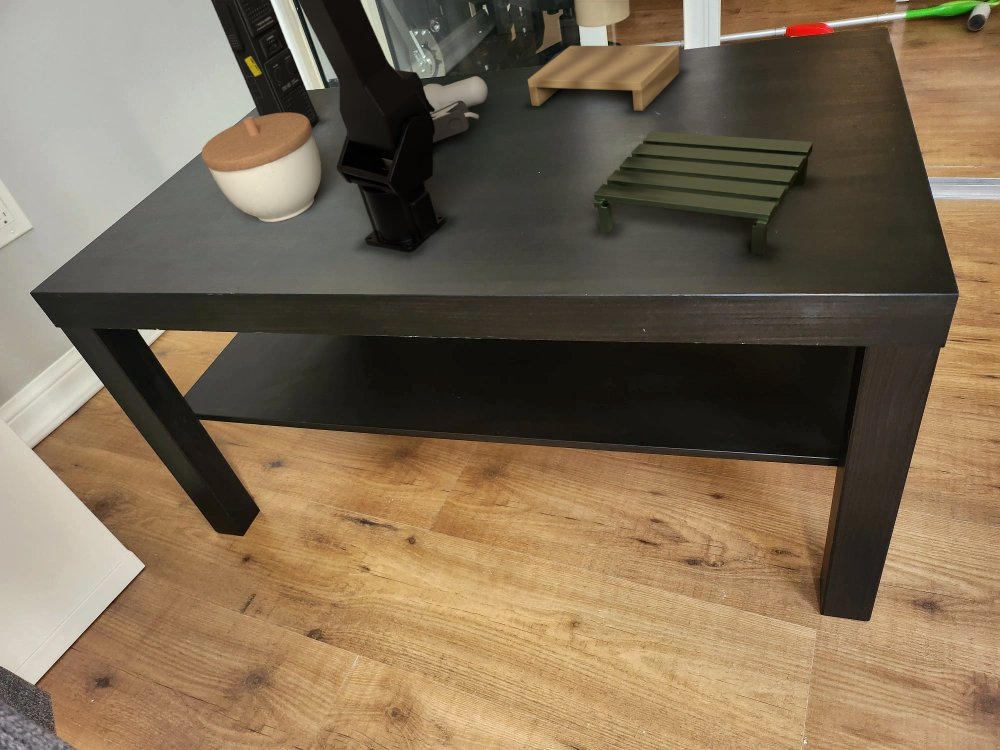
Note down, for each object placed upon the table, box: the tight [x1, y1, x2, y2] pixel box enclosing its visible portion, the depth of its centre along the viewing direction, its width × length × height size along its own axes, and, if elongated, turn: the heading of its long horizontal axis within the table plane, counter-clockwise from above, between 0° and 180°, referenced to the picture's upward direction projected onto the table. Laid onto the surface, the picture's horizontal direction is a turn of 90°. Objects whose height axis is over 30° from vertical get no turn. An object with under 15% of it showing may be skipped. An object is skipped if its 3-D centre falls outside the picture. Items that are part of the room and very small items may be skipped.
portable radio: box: [210, 0, 320, 127], centre depth 97 cm, size 8×6×25 cm
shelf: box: [527, 45, 680, 112], centre depth 93 cm, size 16×12×4 cm
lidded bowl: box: [200, 113, 322, 223], centre depth 82 cm, size 13×13×11 cm
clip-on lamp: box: [423, 75, 489, 143], centre depth 93 cm, size 12×6×18 cm
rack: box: [592, 131, 814, 256], centre depth 67 cm, size 16×14×4 cm
